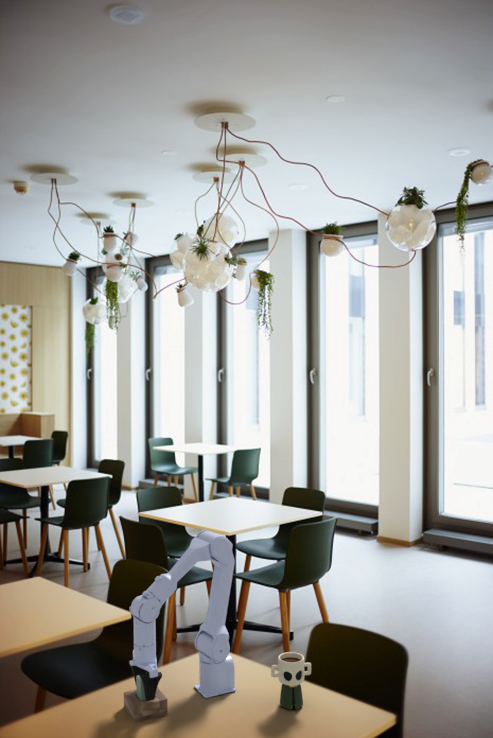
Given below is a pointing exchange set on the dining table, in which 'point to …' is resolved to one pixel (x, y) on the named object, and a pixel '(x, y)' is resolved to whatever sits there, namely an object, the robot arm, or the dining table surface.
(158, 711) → the hole block
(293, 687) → the character mug
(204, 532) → the robot arm
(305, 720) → the dining table surface
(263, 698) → the dining table surface
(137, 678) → the square peg
